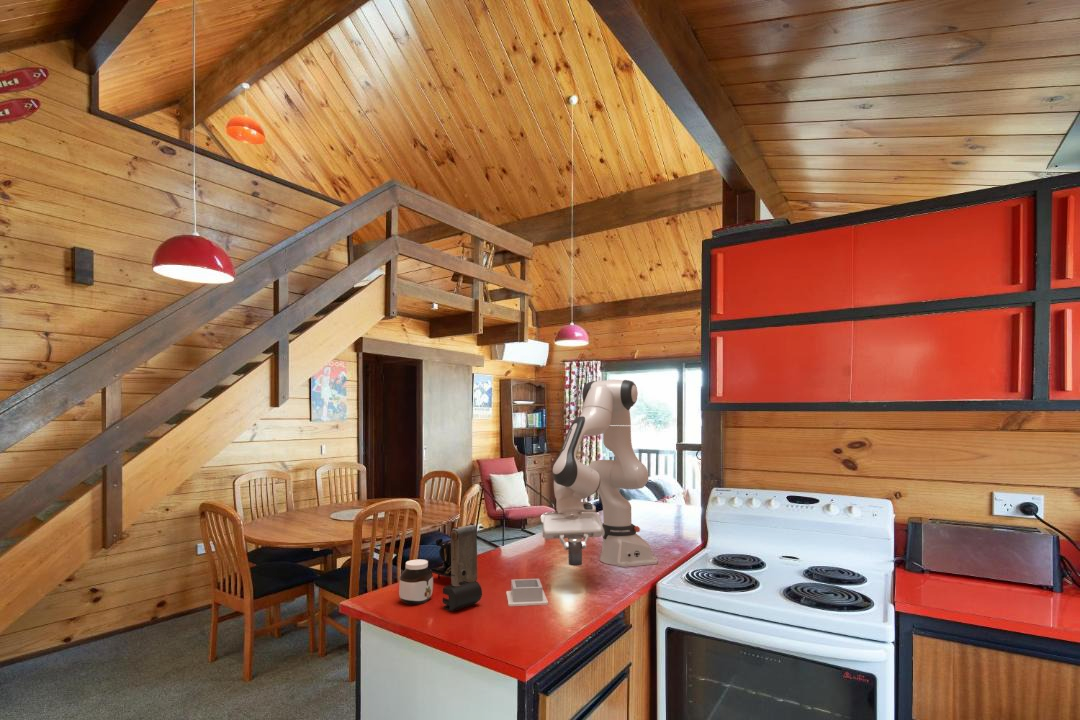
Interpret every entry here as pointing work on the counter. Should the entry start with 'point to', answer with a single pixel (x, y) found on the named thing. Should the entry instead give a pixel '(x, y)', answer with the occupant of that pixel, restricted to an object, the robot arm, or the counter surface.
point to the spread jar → (416, 582)
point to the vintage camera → (459, 555)
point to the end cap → (461, 595)
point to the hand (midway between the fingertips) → (575, 548)
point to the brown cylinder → (575, 551)
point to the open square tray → (526, 593)
